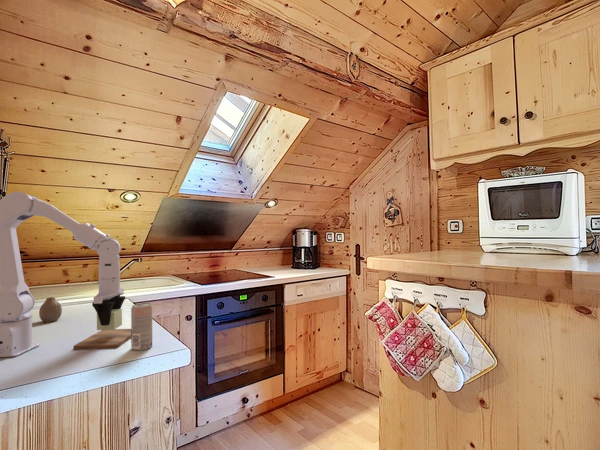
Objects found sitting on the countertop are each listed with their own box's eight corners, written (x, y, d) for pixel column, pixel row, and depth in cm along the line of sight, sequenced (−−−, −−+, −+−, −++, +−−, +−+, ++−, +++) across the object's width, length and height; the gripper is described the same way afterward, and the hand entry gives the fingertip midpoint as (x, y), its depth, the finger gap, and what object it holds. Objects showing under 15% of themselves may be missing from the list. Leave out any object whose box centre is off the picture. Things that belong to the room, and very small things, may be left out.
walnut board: (117, 347, 95) (117, 344, 95) (73, 349, 94) (73, 345, 95) (140, 331, 111) (140, 328, 111) (102, 332, 110) (102, 329, 110)
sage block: (114, 329, 101) (114, 312, 101) (96, 330, 100) (96, 313, 100) (121, 324, 106) (121, 308, 106) (105, 325, 105) (105, 309, 105)
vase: (65, 320, 128) (65, 297, 129) (44, 324, 123) (44, 300, 123) (56, 318, 132) (56, 295, 132) (35, 322, 126) (35, 298, 126)
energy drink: (146, 343, 99) (146, 302, 99) (156, 347, 95) (155, 304, 96) (128, 348, 95) (127, 305, 95) (136, 352, 91) (136, 307, 92)
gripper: (111, 280, 96) (111, 328, 96) (132, 274, 111) (133, 316, 111) (85, 281, 96) (86, 329, 96) (110, 275, 110) (110, 317, 110)
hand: (109, 322), depth 103 cm, fingers closed on sage block, 5 cm apart
